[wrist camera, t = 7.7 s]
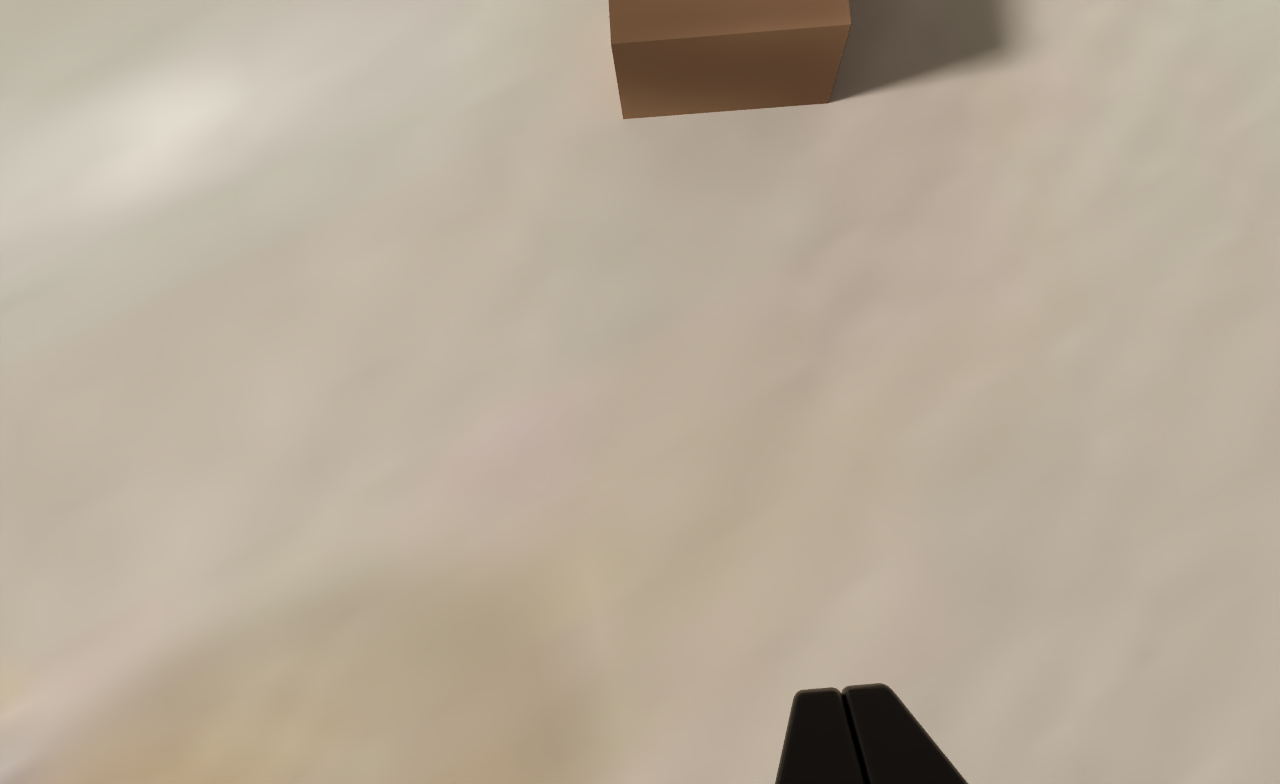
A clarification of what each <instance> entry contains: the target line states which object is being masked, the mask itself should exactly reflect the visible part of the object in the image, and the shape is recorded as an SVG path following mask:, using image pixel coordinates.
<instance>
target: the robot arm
mask: <svg viewBox="0 0 1280 784" xmlns="http://www.w3.org/2000/svg"><path fill="white" fill-rule="evenodd" d="M775 784H968V783H967V782H966V780H965V779H964V778H963V777H962V775H961V774H960V773H959V772H958V771H957V769H956V768H955V767H954V766H953V764H952V763H951V762H950V761H949V759H948V758H947V757H946V756H945V754H944V753H943V752H942V751H941V749H940V748H939V747H938V746H937V745H936V743H935V742H934V741H933V740H932V738H931V737H930V736H929V735H928V733H927V732H926V731H925V730H924V728H923V727H922V726H921V725H920V724H919V722H918V721H917V720H916V719H915V717H914V716H913V715H912V714H911V712H910V711H909V710H908V709H907V707H906V706H905V705H904V704H903V702H902V701H901V700H900V699H899V698H898V696H897V695H896V694H895V693H894V692H893V690H892V689H891V688H889V687H888V686H887V685H885V684H881V683H876V684H865V685H854V686H847V687H845V688H844V689H843V690H842V693H840V691H839V690H838V689H836V688H832V687H831V688H820V689H808V690H800V691H798V692H797V693H796V695H795V696H794V699H793V703H792V708H791V713H790V717H789V722H788V727H787V731H786V736H785V740H784V745H783V750H782V754H781V759H780V764H779V768H778V773H777V777H776V782H775Z"/></svg>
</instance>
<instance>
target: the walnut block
mask: <svg viewBox="0 0 1280 784" xmlns="http://www.w3.org/2000/svg"><path fill="white" fill-rule="evenodd" d="M609 13H610V31H611V46H612V52H613V58H614V64H615V70H616V77H617V83H618V89H619V95H620V101H621V107H622V114H623V119H630V118H643V117H656V116H669V115H682V114H695V113H708V112H720V111H733V110H746V109H759V108H772V107H785V106H798V105H811V104H824V103H829V101H830V97H831V94H832V90H833V87H834V83H835V80H836V76H837V73H838V69H839V66H840V62H841V59H842V55H843V52H844V48H845V45H846V41H847V38H848V34H849V31H850V27H851V16H850V7H849V0H609Z"/></svg>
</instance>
